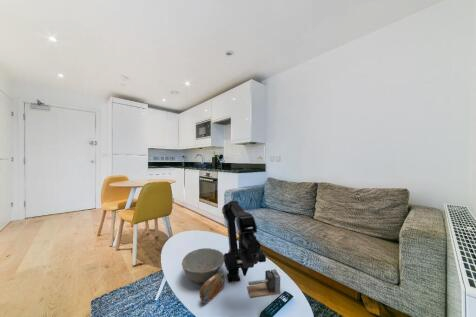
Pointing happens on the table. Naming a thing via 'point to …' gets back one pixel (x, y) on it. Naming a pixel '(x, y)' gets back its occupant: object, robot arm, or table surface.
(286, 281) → the table surface
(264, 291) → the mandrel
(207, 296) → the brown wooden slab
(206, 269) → the ceramic bowl
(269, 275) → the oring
